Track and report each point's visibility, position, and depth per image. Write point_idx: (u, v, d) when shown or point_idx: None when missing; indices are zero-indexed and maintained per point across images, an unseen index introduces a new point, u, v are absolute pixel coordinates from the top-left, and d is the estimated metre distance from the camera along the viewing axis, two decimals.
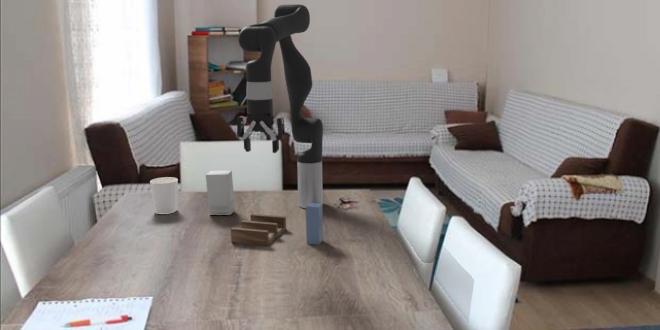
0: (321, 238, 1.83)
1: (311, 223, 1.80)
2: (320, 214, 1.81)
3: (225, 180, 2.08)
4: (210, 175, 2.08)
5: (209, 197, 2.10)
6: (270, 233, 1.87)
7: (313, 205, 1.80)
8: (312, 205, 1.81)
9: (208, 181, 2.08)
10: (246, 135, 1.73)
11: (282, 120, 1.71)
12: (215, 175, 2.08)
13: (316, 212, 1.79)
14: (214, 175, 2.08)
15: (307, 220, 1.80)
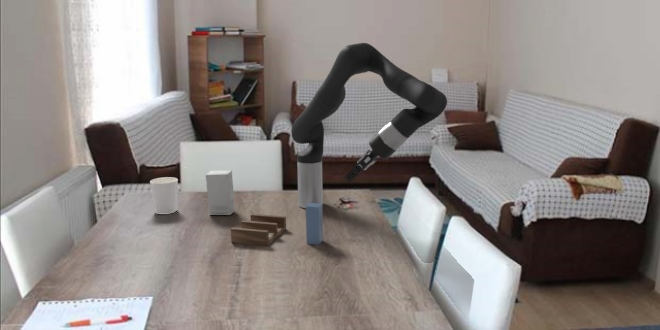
0: (321, 238, 1.83)
1: (311, 223, 1.80)
2: (320, 214, 1.81)
3: (225, 180, 2.08)
4: (210, 175, 2.08)
5: (209, 197, 2.10)
6: (270, 233, 1.87)
7: (313, 205, 1.80)
8: (312, 205, 1.81)
9: (208, 181, 2.08)
10: None
11: None
12: (215, 175, 2.08)
13: (316, 212, 1.79)
14: (214, 175, 2.08)
15: (307, 220, 1.80)
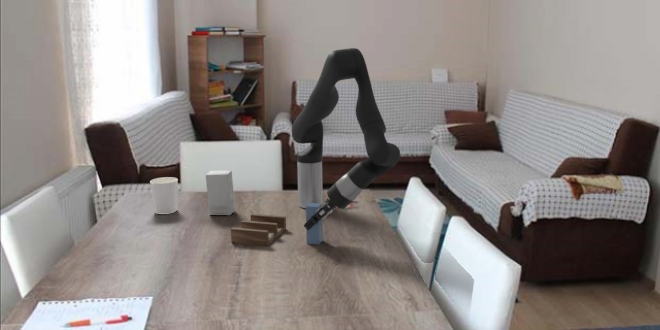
0: (321, 238, 1.83)
1: None
2: None
3: (225, 180, 2.08)
4: (210, 175, 2.08)
5: (209, 197, 2.10)
6: (270, 233, 1.87)
7: (313, 205, 1.80)
8: (313, 205, 1.81)
9: (208, 181, 2.08)
10: None
11: None
12: (215, 175, 2.08)
13: None
14: (214, 175, 2.08)
15: (307, 220, 1.80)
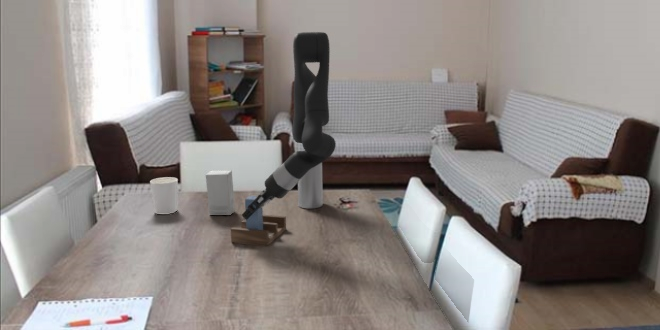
0: None
1: None
2: None
3: (225, 180, 2.08)
4: (210, 175, 2.08)
5: (209, 197, 2.10)
6: (270, 233, 1.87)
7: (252, 198, 1.83)
8: (252, 198, 1.83)
9: (208, 181, 2.08)
10: (257, 209, 1.79)
11: None
12: (215, 175, 2.08)
13: None
14: (214, 175, 2.08)
15: None
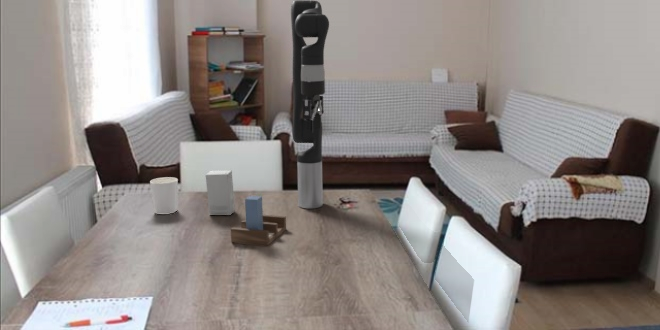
0: None
1: (250, 215, 1.83)
2: (259, 207, 1.83)
3: (225, 180, 2.08)
4: (210, 175, 2.08)
5: (209, 197, 2.10)
6: (270, 233, 1.87)
7: (252, 198, 1.83)
8: (252, 198, 1.83)
9: (208, 181, 2.08)
10: (313, 116, 1.84)
11: None
12: (215, 175, 2.08)
13: (255, 204, 1.81)
14: (214, 175, 2.08)
15: (246, 212, 1.83)
